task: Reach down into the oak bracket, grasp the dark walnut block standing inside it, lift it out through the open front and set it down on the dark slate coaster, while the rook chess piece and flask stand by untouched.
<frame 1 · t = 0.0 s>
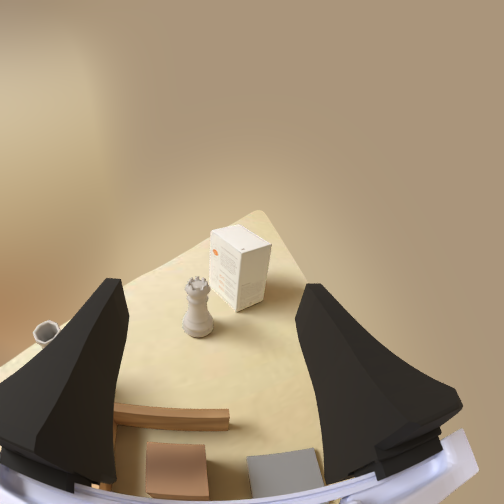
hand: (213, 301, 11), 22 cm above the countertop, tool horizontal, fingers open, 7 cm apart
flask: (77, 389, 25), on the countertop
rook chess piece: (197, 328, 38), on the countertop
slate coaster: (286, 483, 20), on the countertop
small box: (234, 294, 46), on the countertop
oak bracket: (171, 479, 19), on the countertop
walnut block: (181, 480, 19), on the countertop
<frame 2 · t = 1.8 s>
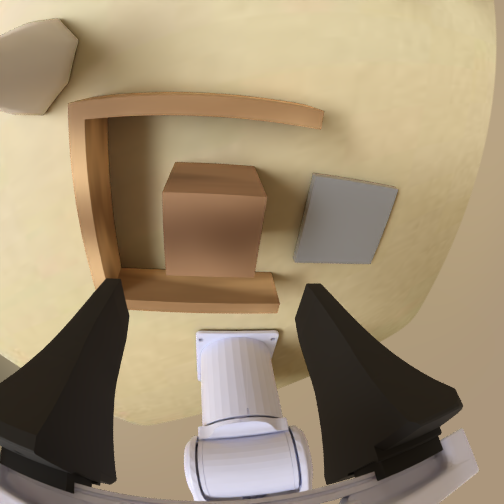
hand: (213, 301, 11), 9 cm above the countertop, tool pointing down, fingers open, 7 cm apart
flask: (36, 66, 11), on the countertop
slate coaster: (345, 221, 21), on the countertop
oak bracket: (197, 199, 18), on the countertop
walnut block: (212, 198, 18), on the countertop
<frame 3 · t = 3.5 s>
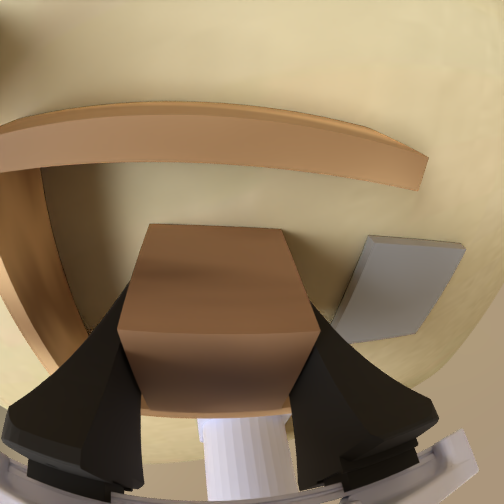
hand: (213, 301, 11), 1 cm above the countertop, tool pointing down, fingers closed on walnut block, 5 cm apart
slate coaster: (396, 292, 14), on the countertop
oak bracket: (189, 277, 12), on the countertop
walnut block: (212, 277, 12), on the countertop, touching gripper
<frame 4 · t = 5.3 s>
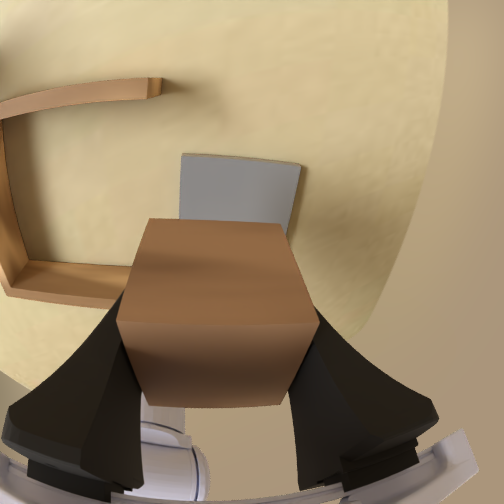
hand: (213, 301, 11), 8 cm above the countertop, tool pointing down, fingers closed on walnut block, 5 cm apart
slate coaster: (235, 209, 18), on the countertop
oak bracket: (72, 191, 15), on the countertop
walnut block: (212, 272, 12), point 7 cm above the countertop, touching gripper
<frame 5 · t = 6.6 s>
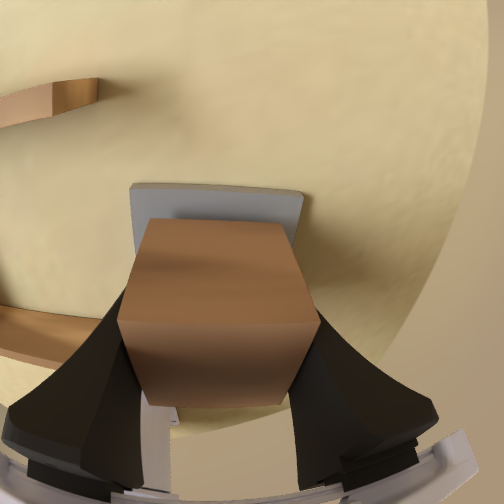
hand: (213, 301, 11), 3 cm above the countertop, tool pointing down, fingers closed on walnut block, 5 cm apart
slate coaster: (212, 255, 13), on the countertop
oak bracket: (14, 232, 11), on the countertop
walnut block: (212, 272, 12), point 1 cm above the countertop, touching gripper
when the fingers open (3 cm above the countertop, at t = 7.4 s): walnut block stays where it is, resting on slate coaster.
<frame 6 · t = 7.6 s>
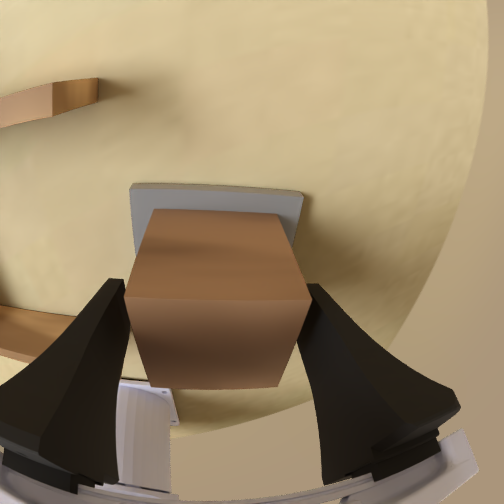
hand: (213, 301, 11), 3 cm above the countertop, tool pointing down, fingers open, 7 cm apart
slate coaster: (212, 255, 13), on the countertop
oak bracket: (14, 233, 11), on the countertop
walnut block: (212, 260, 12), point 1 cm above the countertop, touching slate coaster
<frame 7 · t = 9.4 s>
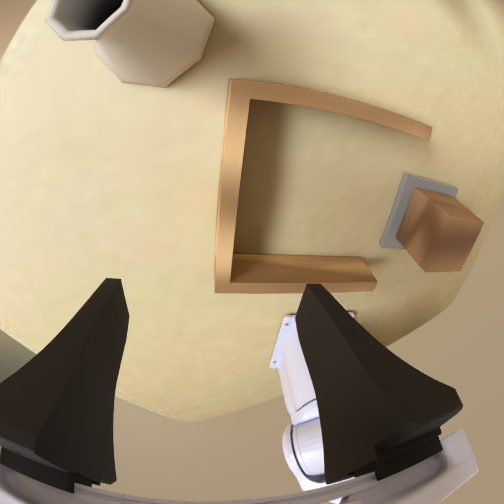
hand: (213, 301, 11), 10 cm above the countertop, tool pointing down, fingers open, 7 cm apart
flask: (154, 35, 12), on the countertop
slate coaster: (419, 213, 22), on the countertop
oak bracket: (316, 188, 20), on the countertop
walnut block: (423, 215, 22), point 1 cm above the countertop, touching slate coaster
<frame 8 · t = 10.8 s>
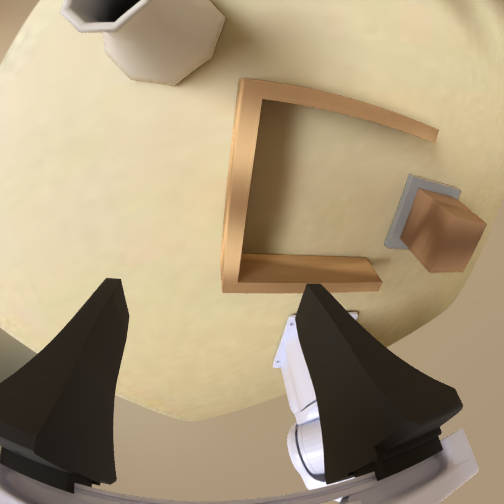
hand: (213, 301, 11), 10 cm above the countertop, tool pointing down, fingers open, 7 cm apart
flask: (164, 33, 12), on the countertop
slate coaster: (423, 214, 22), on the countertop
oak bracket: (323, 189, 20), on the countertop
walnut block: (427, 216, 22), point 1 cm above the countertop, touching slate coaster
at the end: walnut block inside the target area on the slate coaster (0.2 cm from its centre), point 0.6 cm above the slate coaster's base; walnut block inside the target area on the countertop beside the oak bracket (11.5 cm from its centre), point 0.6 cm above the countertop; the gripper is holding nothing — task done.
